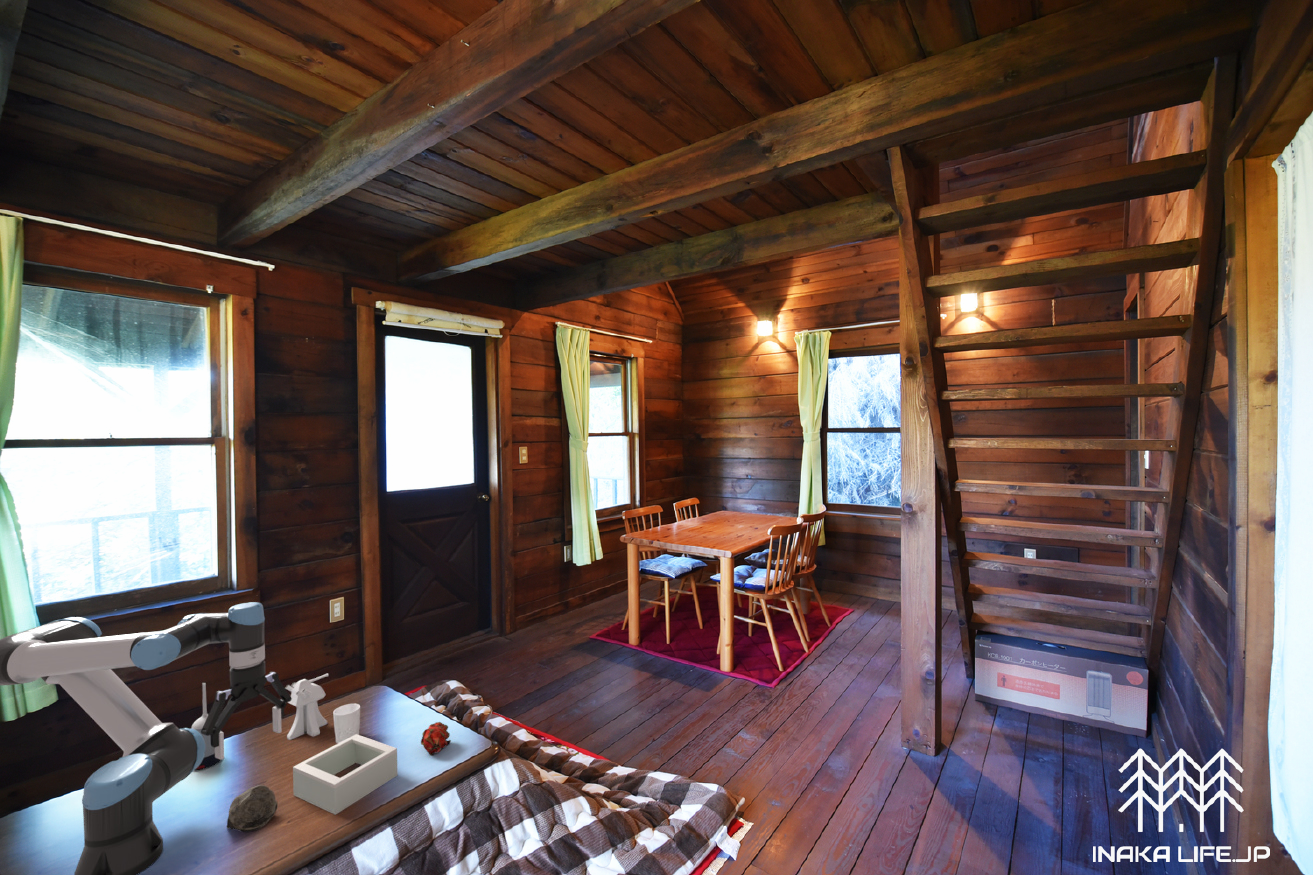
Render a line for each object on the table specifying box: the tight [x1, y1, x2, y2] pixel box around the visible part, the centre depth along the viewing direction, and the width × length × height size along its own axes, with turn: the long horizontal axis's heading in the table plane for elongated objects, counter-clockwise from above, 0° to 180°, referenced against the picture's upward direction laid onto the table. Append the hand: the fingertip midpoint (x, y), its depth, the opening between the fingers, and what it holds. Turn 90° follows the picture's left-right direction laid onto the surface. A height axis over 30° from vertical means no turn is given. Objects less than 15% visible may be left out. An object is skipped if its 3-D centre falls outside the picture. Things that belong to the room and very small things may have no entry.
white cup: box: [332, 703, 361, 744], centre depth 185 cm, size 8×8×10 cm
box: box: [292, 734, 399, 815], centre depth 160 cm, size 19×19×8 cm
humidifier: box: [191, 682, 222, 772], centre depth 173 cm, size 8×8×25 cm
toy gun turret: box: [284, 673, 329, 741], centre depth 192 cm, size 12×13×18 cm
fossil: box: [226, 784, 279, 833], centre depth 145 cm, size 11×9×10 cm
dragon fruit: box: [420, 721, 452, 756], centre depth 177 cm, size 8×8×12 cm
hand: (249, 744), depth 145 cm, fingers open, 13 cm apart
